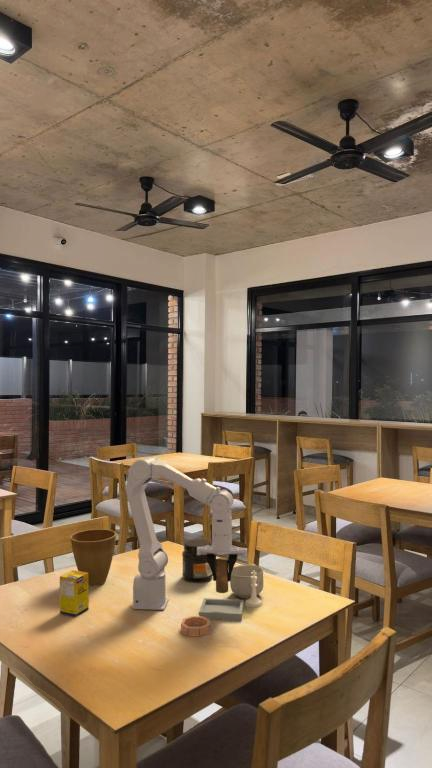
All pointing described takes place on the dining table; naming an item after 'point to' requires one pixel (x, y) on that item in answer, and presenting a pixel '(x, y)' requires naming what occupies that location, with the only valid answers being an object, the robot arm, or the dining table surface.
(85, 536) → the plant pot
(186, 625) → the ring holder
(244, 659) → the dining table surface
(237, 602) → the tray
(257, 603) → the chess piece
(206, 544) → the supplement container
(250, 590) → the teacup
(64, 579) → the supplement box
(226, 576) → the dowel
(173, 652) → the dining table surface
